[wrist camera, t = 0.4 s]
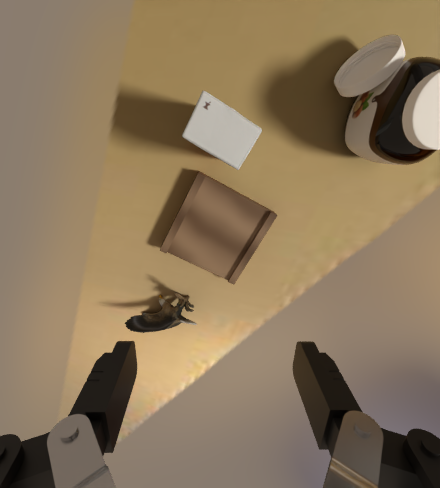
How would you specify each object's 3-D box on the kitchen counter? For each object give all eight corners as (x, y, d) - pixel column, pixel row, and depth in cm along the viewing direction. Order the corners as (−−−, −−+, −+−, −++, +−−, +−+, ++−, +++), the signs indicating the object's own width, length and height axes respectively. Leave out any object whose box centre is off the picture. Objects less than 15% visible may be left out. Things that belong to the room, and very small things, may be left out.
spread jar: (379, 167, 36) (452, 177, 26) (305, 140, 35) (350, 139, 24) (427, 71, 33) (538, 35, 22) (347, 35, 31) (424, -23, 20)
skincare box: (187, 138, 34) (178, 135, 23) (203, 106, 33) (202, 86, 22) (228, 162, 35) (238, 171, 24) (245, 132, 34) (264, 127, 23)
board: (199, 170, 35) (198, 172, 33) (273, 211, 38) (277, 215, 36) (162, 245, 39) (159, 250, 37) (232, 277, 41) (233, 284, 39)
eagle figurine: (166, 272, 39) (118, 309, 39) (185, 309, 35) (131, 351, 35) (189, 290, 45) (148, 323, 45) (208, 324, 41) (163, 360, 41)
